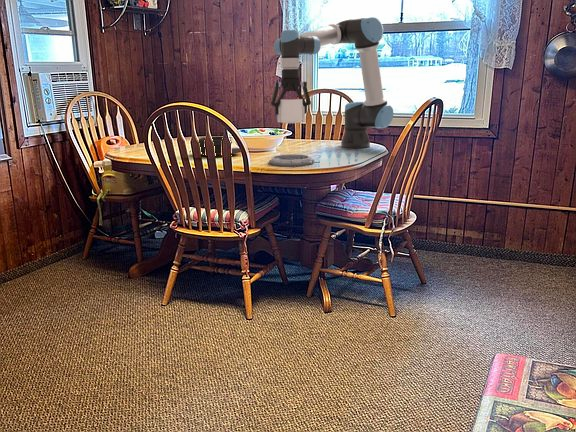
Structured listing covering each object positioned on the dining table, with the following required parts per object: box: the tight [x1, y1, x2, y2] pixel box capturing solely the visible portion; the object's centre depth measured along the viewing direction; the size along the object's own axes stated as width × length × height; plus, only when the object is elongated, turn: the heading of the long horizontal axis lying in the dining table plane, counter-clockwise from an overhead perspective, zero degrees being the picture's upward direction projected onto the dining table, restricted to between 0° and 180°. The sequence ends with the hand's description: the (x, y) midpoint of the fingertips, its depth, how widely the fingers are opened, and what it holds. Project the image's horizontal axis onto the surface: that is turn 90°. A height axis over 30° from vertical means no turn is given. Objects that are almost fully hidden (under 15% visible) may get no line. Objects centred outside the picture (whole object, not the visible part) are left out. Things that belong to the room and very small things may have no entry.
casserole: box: [189, 136, 241, 157], centre depth 267 cm, size 25×19×8 cm
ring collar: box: [268, 153, 315, 168], centre depth 242 cm, size 20×20×2 cm
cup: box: [278, 97, 303, 124], centre depth 236 cm, size 10×10×10 cm
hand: (291, 121), depth 238 cm, fingers closed on cup, 10 cm apart
